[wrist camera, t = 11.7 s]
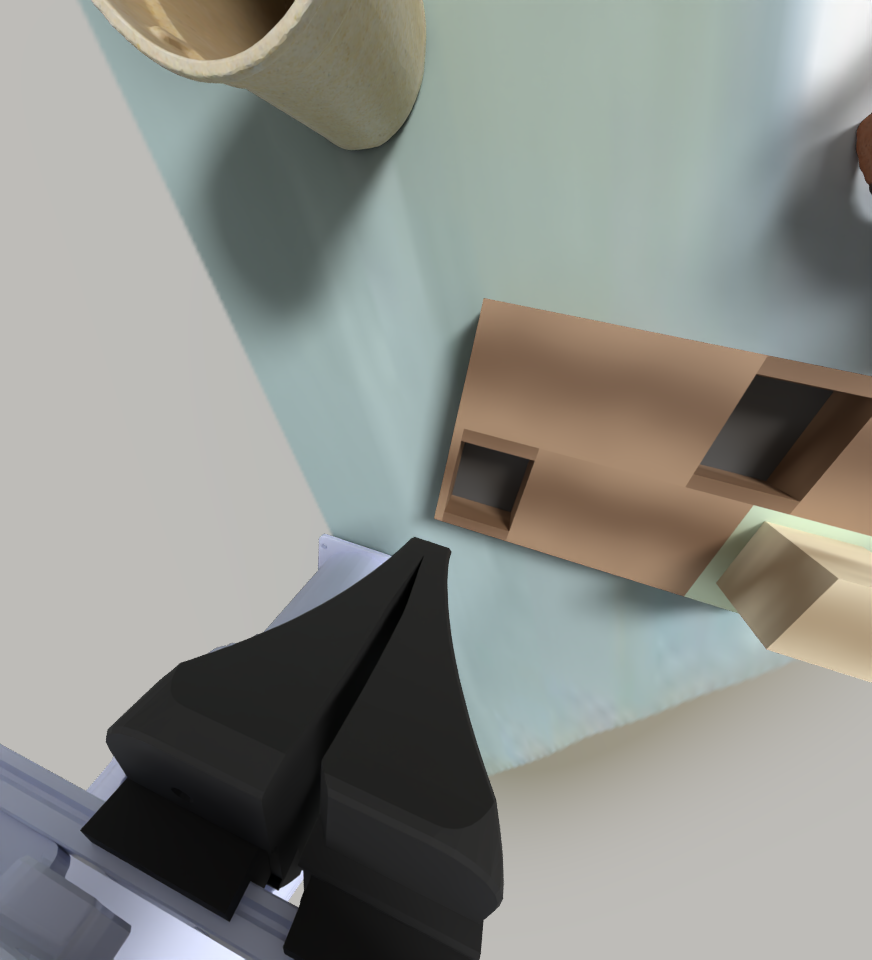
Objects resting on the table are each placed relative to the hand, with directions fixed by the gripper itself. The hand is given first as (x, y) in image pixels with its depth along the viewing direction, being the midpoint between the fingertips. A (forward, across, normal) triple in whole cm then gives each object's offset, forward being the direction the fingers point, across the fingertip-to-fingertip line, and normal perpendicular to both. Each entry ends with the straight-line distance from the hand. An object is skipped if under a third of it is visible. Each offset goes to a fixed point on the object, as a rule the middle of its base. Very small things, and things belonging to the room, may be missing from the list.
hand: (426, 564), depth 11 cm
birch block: (+8, -16, 0) cm, 18 cm away
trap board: (+10, -9, -2) cm, 14 cm away
